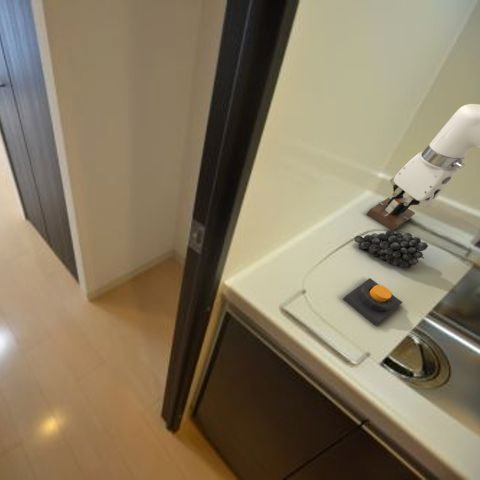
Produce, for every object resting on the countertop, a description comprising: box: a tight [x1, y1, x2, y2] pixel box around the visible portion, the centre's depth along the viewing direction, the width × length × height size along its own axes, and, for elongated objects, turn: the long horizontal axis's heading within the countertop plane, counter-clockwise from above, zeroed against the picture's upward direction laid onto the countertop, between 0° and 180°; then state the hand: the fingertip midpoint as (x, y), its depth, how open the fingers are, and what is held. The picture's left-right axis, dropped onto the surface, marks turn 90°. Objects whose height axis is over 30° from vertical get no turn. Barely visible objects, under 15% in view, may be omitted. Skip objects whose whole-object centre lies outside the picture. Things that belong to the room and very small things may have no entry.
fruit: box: [353, 229, 429, 269], centre depth 85 cm, size 9×8×15 cm
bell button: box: [369, 284, 393, 302], centre depth 74 cm, size 4×4×2 cm
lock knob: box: [385, 197, 408, 214], centre depth 94 cm, size 4×2×4 cm, turn 105°
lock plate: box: [365, 197, 416, 231], centre depth 96 cm, size 10×9×3 cm
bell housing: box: [342, 277, 403, 326], centre depth 76 cm, size 10×8×4 cm
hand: (393, 210), depth 95 cm, fingers closed on lock knob, 2 cm apart
